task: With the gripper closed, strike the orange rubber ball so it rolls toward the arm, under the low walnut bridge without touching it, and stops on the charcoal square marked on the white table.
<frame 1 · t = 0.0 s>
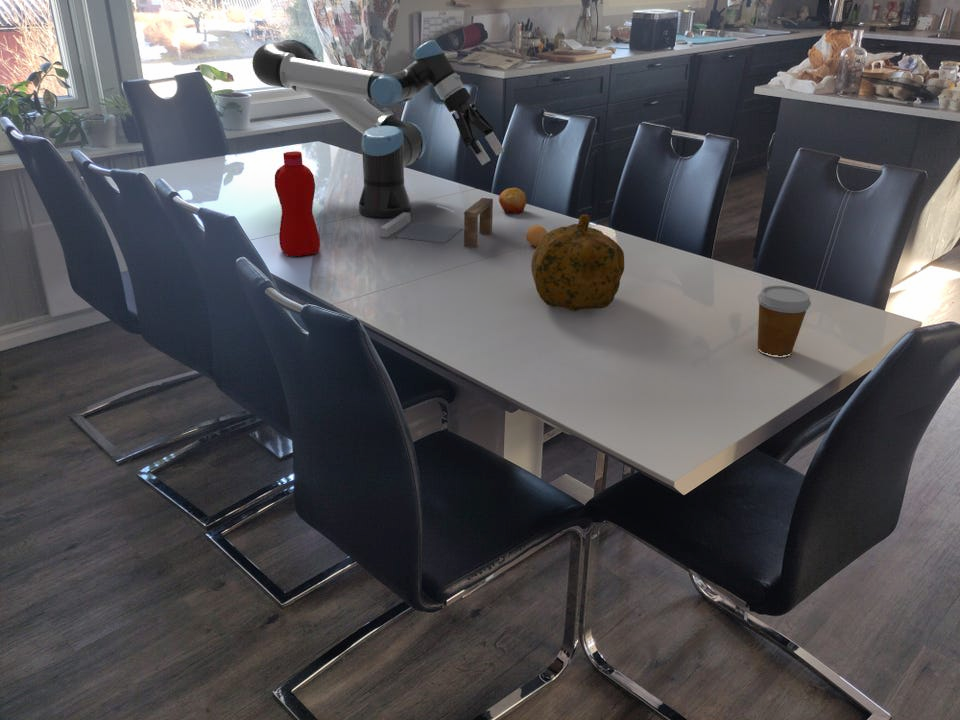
hand: (493, 158, 240), 15 cm above the table, fingers open, 13 cm apart
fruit: (512, 212, 245), on the table
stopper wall: (395, 229, 228), on the table
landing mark: (429, 233, 225), on the table
ball: (536, 235, 216), on the table
bridge: (478, 238, 221), on the table
water bottle: (299, 251, 210), on the table
disposable coffee cup: (774, 352, 161), on the table
decorative pumpkin: (574, 303, 182), on the table
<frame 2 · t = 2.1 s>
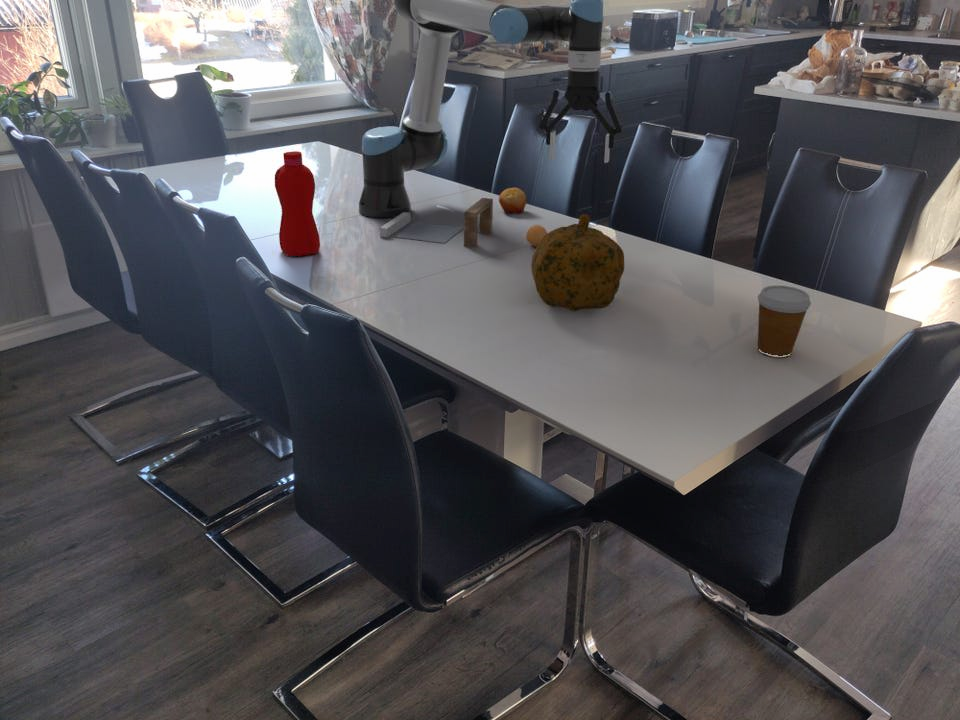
hand: (579, 160, 205), 23 cm above the table, fingers open, 13 cm apart
nothing on the table moved.
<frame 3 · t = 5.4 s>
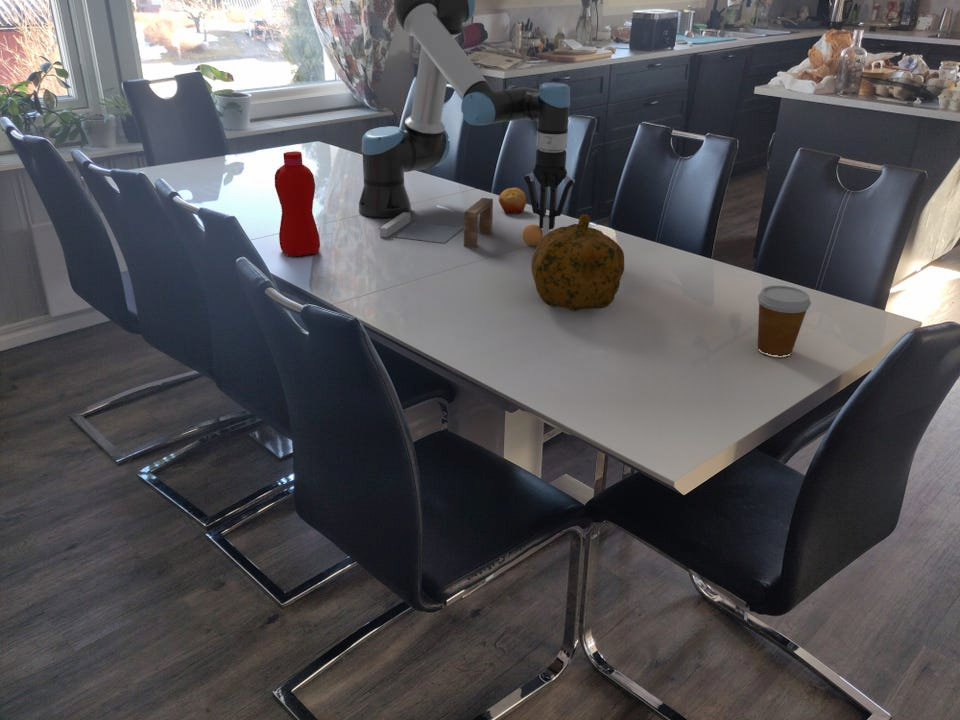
hand: (545, 240, 216), 2 cm above the table, fingers closed
ball: (532, 235, 216), on the table, touching gripper
everything else where it was.
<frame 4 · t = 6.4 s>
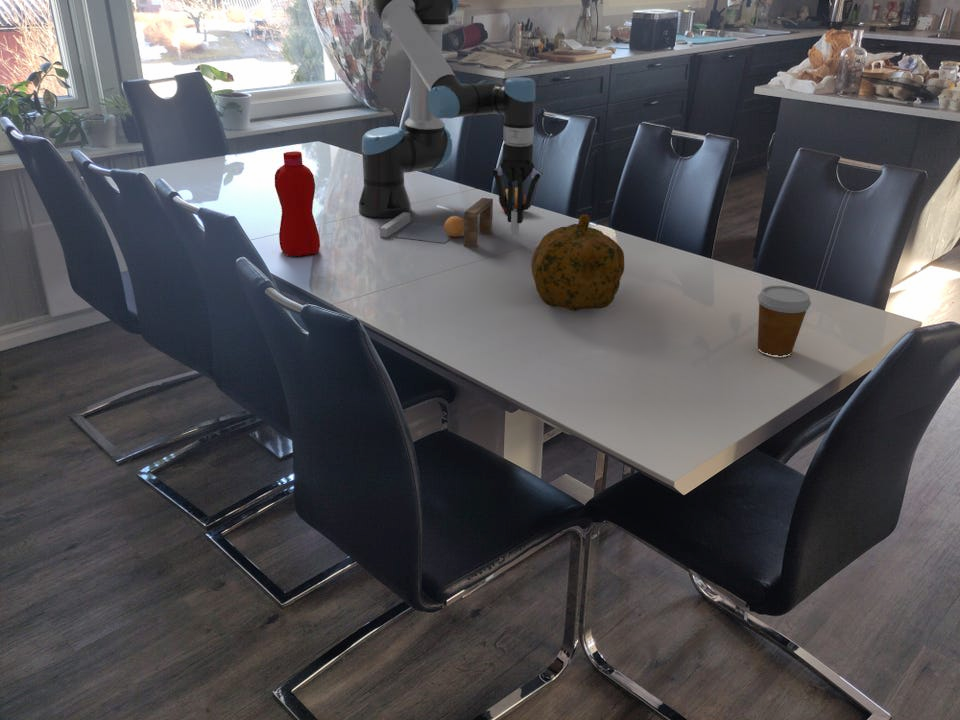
hand: (514, 234, 217), 2 cm above the table, fingers closed
ball: (454, 226, 222), on the table
everything else where it was.
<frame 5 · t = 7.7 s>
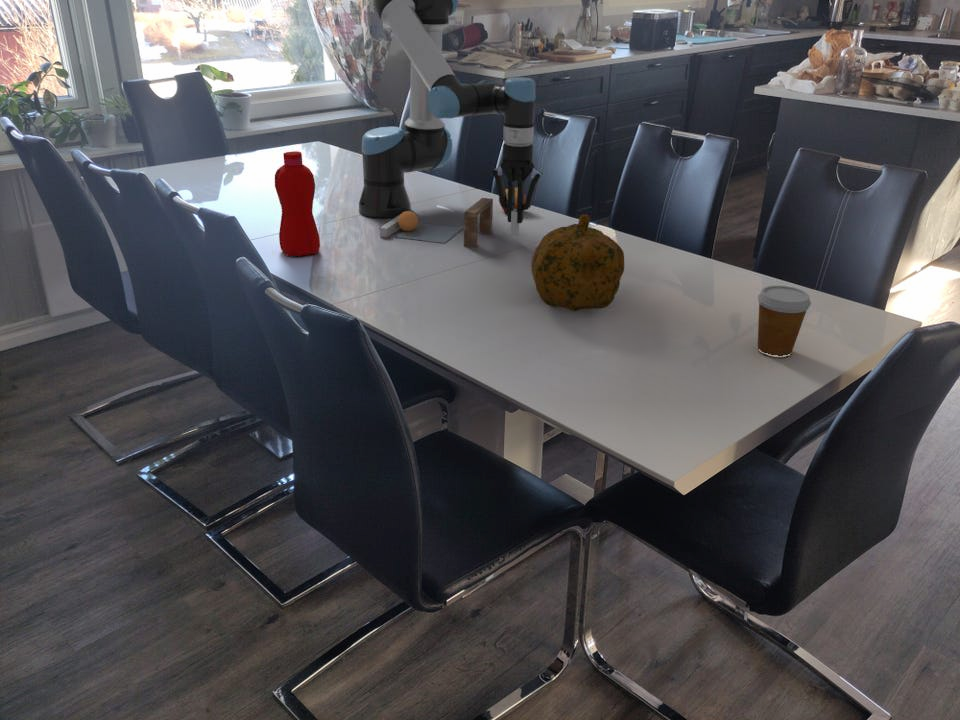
hand: (514, 234, 217), 2 cm above the table, fingers closed
ball: (408, 221, 225), on the table
everything else where it was.
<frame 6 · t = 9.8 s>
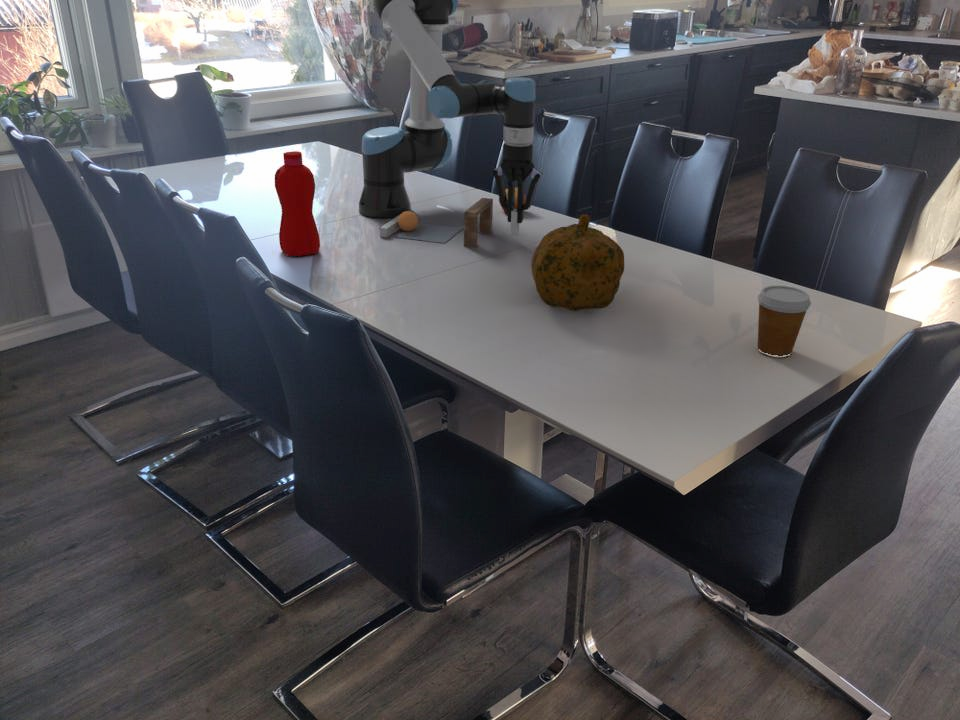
hand: (514, 234, 217), 2 cm above the table, fingers closed
nothing on the table moved.
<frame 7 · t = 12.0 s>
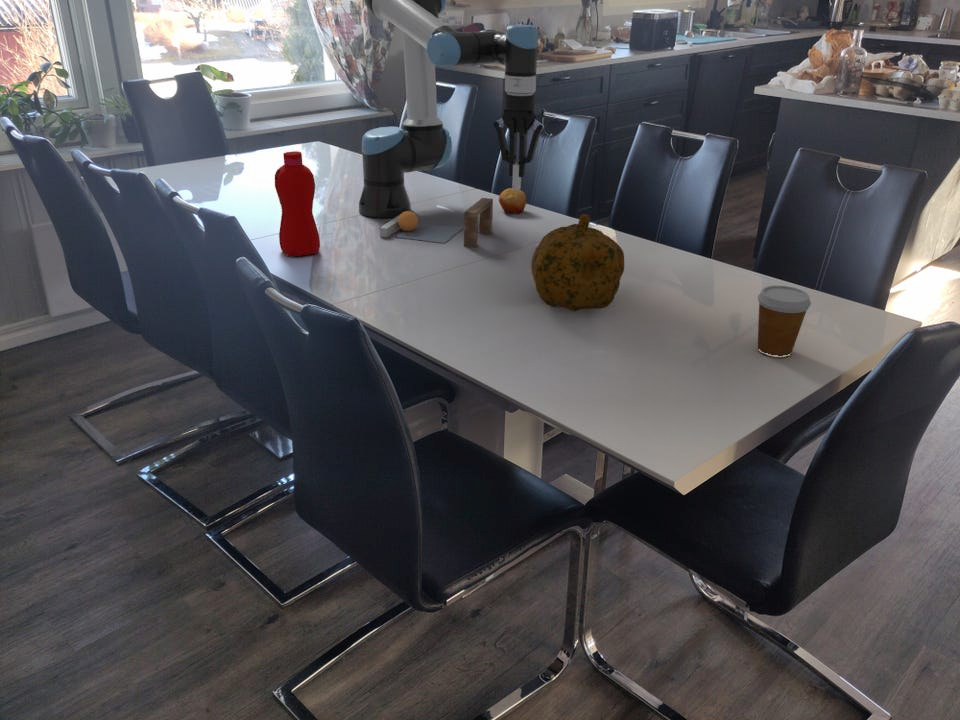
hand: (516, 189, 212), 14 cm above the table, fingers closed
nothing on the table moved.
at the end: ball 6.0 cm from the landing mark (horizontally); ball never touched bridge; ball at rest at the end (0.0 cm/s) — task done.
